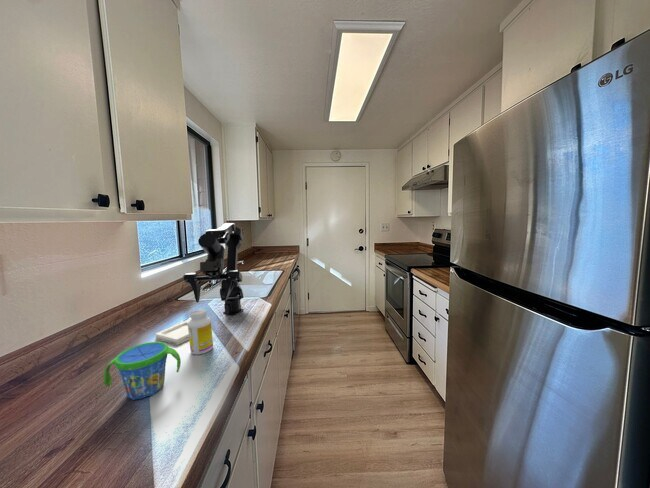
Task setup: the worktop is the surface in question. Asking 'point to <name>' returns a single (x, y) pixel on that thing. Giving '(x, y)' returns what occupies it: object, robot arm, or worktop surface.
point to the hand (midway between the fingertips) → (211, 301)
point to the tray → (175, 334)
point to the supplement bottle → (200, 332)
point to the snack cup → (142, 368)
